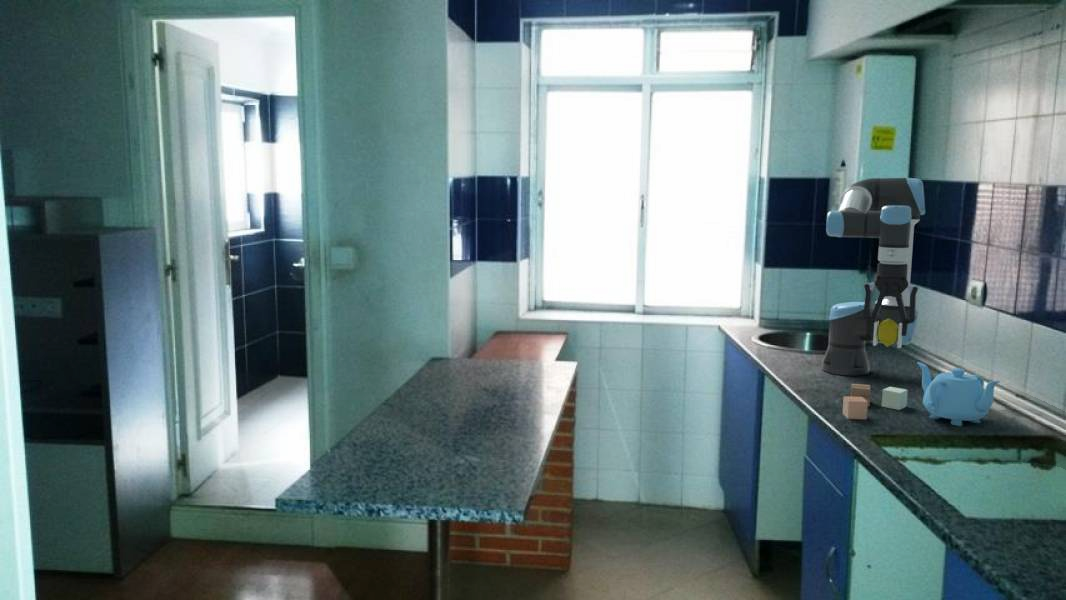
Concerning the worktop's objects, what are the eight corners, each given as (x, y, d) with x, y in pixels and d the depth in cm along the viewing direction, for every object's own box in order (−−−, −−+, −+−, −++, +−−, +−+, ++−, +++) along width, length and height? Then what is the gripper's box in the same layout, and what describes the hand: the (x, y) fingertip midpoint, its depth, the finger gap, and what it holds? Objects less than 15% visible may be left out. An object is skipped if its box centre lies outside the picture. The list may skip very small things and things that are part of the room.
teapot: (995, 433, 204) (1000, 379, 202) (911, 422, 212) (915, 371, 210) (992, 416, 218) (996, 366, 216) (913, 407, 227) (917, 359, 225)
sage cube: (888, 403, 231) (890, 386, 230) (906, 406, 228) (907, 389, 227) (881, 406, 228) (882, 389, 227) (899, 410, 224) (900, 393, 223)
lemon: (900, 349, 217) (902, 320, 216) (878, 348, 218) (880, 319, 217) (895, 345, 222) (897, 316, 221) (874, 344, 223) (876, 316, 222)
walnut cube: (850, 400, 235) (851, 383, 234) (868, 401, 233) (869, 385, 232) (850, 404, 230) (851, 387, 229) (869, 406, 228) (870, 389, 227)
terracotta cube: (842, 413, 221) (843, 396, 220) (861, 414, 220) (862, 396, 220) (847, 419, 216) (848, 401, 215) (866, 419, 215) (867, 401, 215)
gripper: (854, 262, 218) (849, 344, 222) (929, 265, 208) (922, 352, 212) (858, 259, 224) (854, 340, 228) (931, 263, 215) (925, 347, 218)
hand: (887, 345), depth 220 cm, fingers closed on lemon, 5 cm apart
